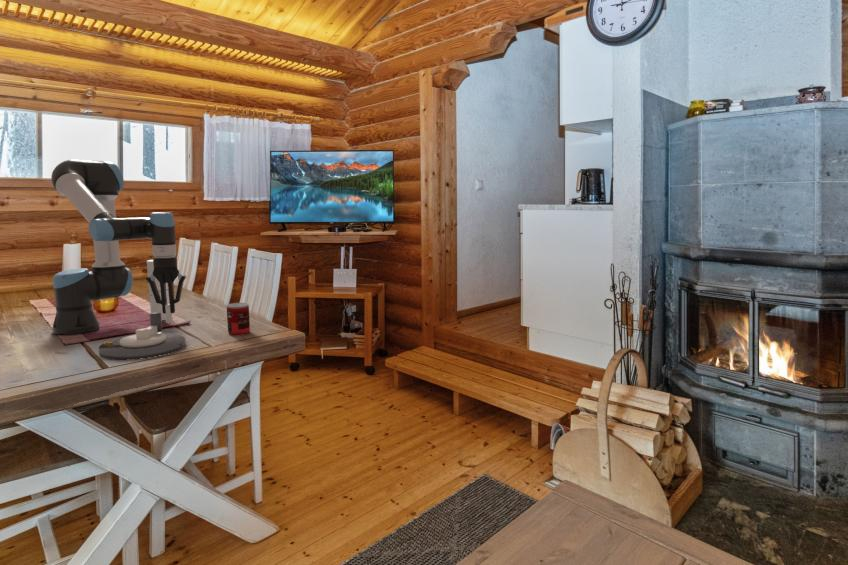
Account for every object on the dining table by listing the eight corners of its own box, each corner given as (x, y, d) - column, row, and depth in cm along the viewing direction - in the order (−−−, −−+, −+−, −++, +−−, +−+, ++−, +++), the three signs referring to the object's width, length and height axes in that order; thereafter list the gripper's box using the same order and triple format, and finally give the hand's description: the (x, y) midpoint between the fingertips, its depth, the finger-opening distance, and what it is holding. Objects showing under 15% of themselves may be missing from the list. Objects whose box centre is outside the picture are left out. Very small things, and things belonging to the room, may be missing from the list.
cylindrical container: (162, 321, 220) (158, 261, 216) (147, 320, 221) (142, 261, 217) (174, 317, 227) (169, 259, 223) (159, 317, 228) (154, 259, 224)
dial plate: (82, 360, 168) (81, 353, 167) (125, 338, 193) (124, 332, 193) (165, 359, 169) (165, 352, 168) (197, 338, 194) (196, 331, 194)
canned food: (231, 330, 205) (229, 302, 203) (252, 330, 206) (250, 302, 204) (225, 335, 198) (223, 306, 196) (247, 335, 198) (246, 306, 197)
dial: (154, 347, 174) (152, 324, 173) (111, 347, 174) (108, 324, 172) (178, 332, 193) (177, 312, 191) (139, 333, 192) (137, 312, 191)
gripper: (141, 258, 182) (146, 325, 185) (182, 257, 184) (187, 323, 188) (147, 255, 189) (152, 320, 193) (186, 255, 192) (191, 318, 196)
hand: (169, 322), depth 190 cm, fingers closed
